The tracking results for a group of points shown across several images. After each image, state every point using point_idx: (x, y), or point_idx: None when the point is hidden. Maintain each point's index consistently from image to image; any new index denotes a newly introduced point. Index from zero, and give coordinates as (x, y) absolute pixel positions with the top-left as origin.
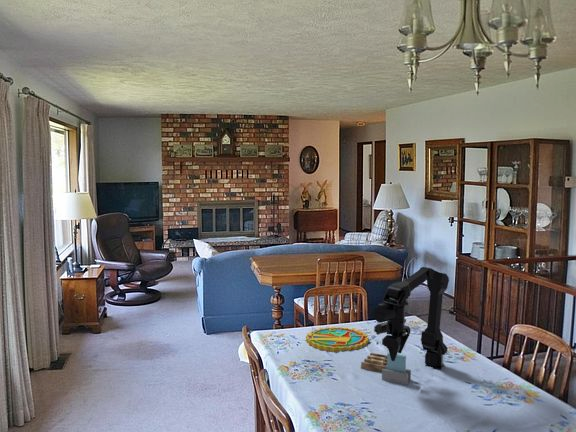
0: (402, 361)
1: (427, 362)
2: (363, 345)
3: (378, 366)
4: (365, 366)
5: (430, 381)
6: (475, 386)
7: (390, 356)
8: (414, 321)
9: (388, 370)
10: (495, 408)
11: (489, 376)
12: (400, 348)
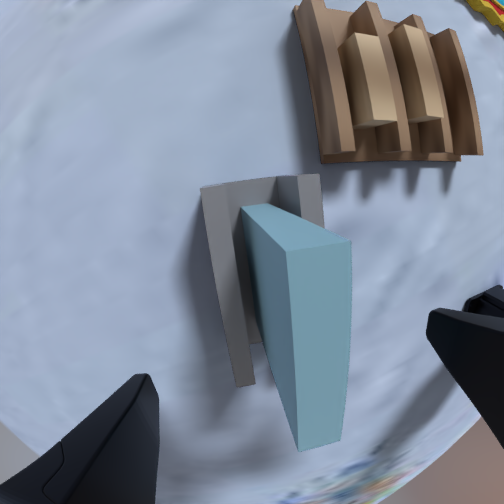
0: (284, 398)
1: (483, 306)
2: (488, 15)
3: (331, 102)
4: (306, 24)
5: None
6: (355, 468)
7: (99, 407)
8: None
9: (218, 246)
10: None
11: (426, 446)
12: (460, 360)
